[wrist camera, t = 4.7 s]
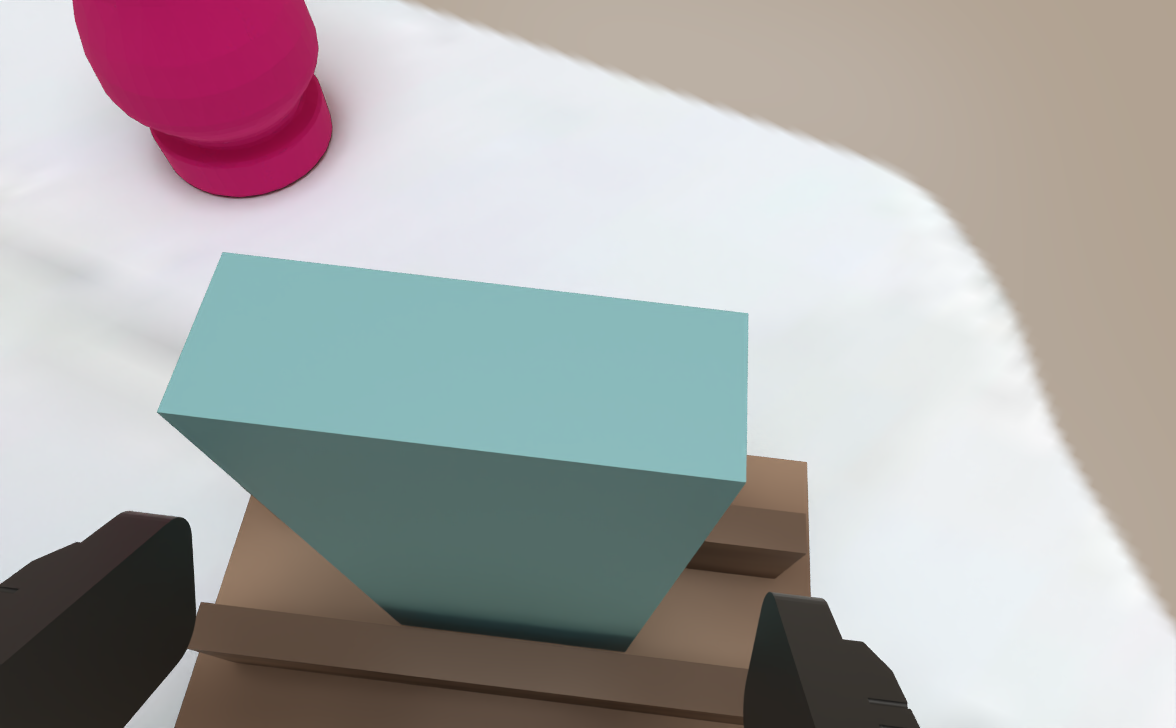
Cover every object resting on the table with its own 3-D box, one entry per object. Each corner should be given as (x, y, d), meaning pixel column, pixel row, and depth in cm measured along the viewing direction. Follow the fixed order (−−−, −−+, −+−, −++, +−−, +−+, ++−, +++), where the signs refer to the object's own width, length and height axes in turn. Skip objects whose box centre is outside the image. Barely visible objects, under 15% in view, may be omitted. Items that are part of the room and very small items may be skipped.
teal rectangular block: (624, 652, 20) (746, 482, 8) (401, 624, 20) (157, 412, 8) (630, 575, 21) (748, 312, 8) (417, 549, 21) (221, 252, 9)
